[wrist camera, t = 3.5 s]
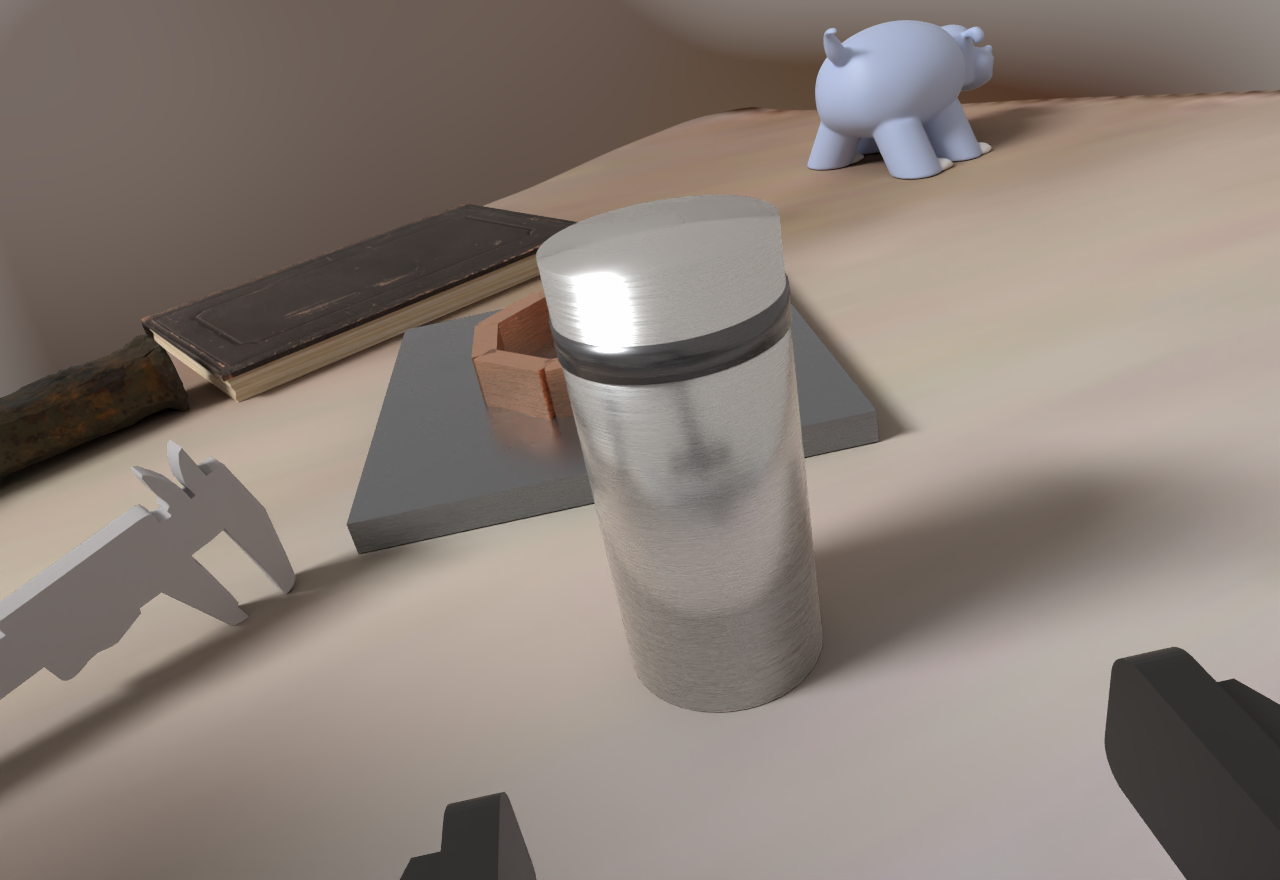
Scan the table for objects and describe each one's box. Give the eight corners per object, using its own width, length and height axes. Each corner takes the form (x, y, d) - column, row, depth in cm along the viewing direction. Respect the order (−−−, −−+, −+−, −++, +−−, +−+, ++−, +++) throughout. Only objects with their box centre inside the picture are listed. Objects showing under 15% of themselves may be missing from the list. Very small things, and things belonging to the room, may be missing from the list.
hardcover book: (601, 260, 56) (593, 224, 55) (239, 417, 44) (221, 375, 43) (469, 232, 68) (460, 202, 66) (154, 351, 56) (137, 317, 55)
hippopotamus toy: (1044, 130, 62) (1049, -23, 58) (898, 193, 56) (892, 25, 51) (916, 124, 71) (912, -11, 66) (776, 178, 64) (761, 32, 59)
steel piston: (642, 733, 22) (535, 298, 16) (620, 600, 26) (531, 225, 21) (851, 687, 22) (813, 240, 16) (794, 563, 26) (749, 180, 21)
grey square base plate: (358, 553, 31) (325, 473, 29) (412, 351, 46) (393, 292, 45) (878, 441, 31) (873, 356, 29) (756, 278, 47) (749, 217, 45)
